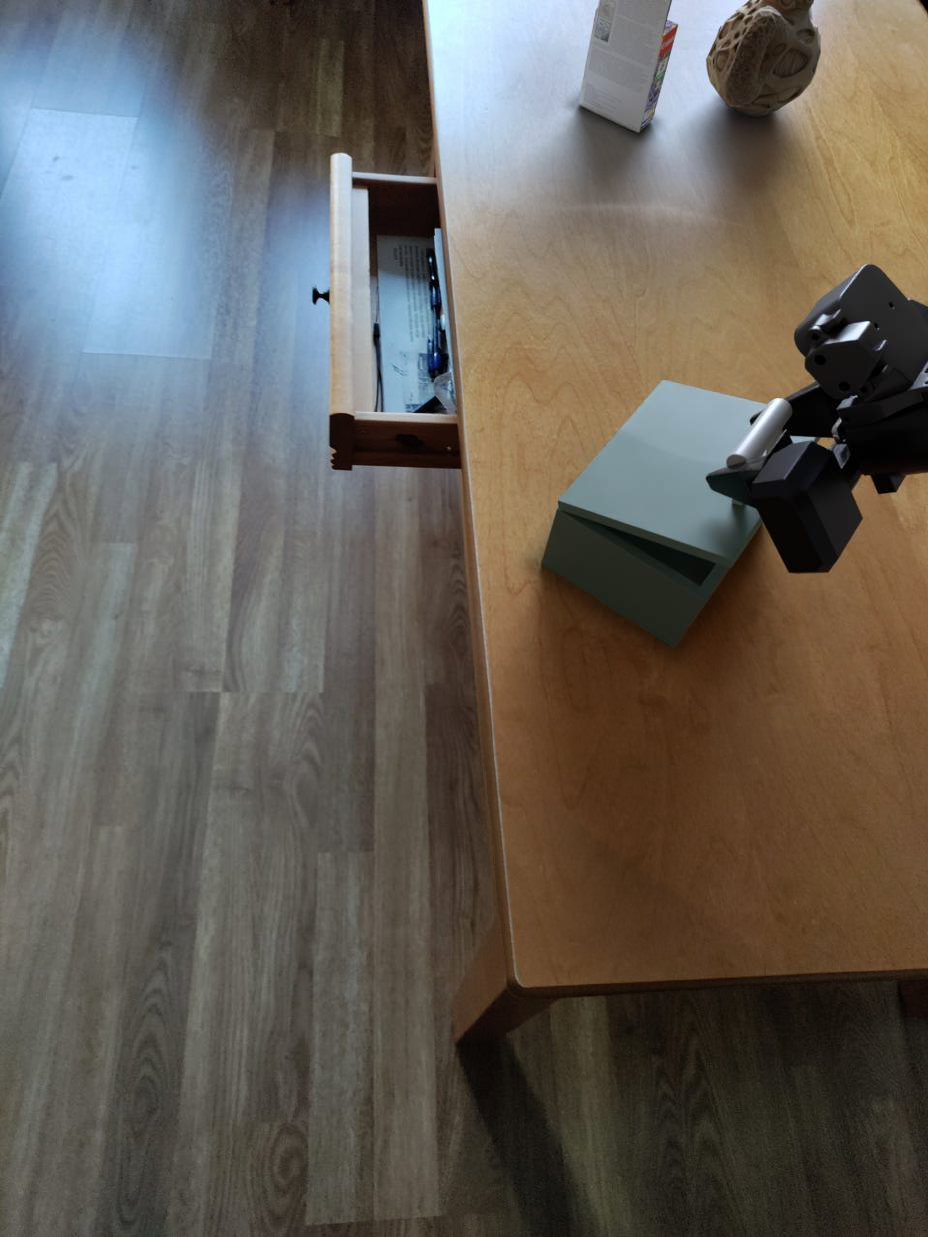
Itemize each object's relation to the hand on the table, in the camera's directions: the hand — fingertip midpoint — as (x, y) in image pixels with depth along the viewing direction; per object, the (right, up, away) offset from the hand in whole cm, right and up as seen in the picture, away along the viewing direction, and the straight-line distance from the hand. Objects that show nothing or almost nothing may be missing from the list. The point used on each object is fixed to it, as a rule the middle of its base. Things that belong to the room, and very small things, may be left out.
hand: (731, 452), depth 55 cm
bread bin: (-3, -5, +11) cm, 12 cm away
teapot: (+14, +47, +42) cm, 64 cm away
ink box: (-1, +45, +39) cm, 59 cm away
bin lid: (-2, -1, +3) cm, 3 cm away
